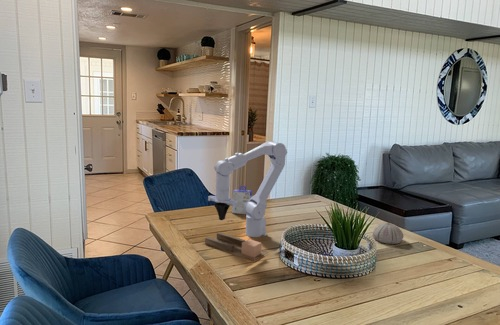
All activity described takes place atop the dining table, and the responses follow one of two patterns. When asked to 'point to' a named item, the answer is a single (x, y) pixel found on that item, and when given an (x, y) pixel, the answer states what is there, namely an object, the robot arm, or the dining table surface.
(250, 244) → the terracotta block
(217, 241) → the taupe railed channel
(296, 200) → the dining table surface
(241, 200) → the ink cartridge box
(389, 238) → the sea urchin shell
